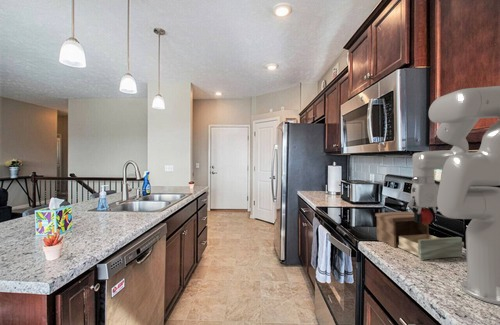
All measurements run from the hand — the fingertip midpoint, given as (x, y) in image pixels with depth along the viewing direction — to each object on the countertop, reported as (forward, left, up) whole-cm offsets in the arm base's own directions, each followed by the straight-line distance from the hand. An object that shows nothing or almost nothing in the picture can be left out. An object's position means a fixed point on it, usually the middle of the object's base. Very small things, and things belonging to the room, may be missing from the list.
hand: (424, 221), depth 104 cm
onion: (0, 0, -2) cm, 2 cm away
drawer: (0, 0, -13) cm, 13 cm away
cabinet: (+14, 0, -13) cm, 19 cm away
